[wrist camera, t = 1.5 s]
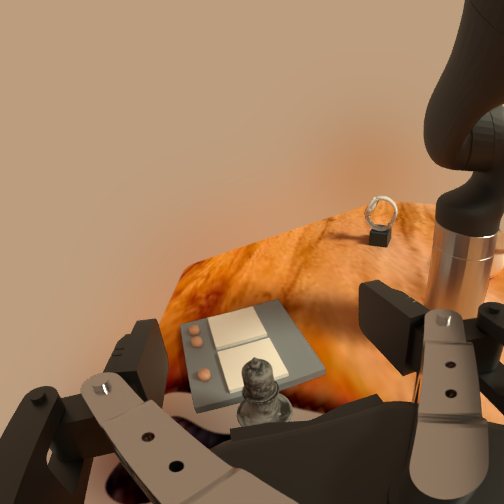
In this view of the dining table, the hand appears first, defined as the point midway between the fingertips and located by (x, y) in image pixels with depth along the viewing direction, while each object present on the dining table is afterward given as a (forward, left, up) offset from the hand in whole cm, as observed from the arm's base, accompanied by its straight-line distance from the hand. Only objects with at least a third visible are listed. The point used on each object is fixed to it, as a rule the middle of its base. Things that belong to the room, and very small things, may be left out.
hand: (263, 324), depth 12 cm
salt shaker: (-1, -10, -24) cm, 26 cm away
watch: (-41, -45, -24) cm, 66 cm away
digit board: (-2, -24, -24) cm, 34 cm away
